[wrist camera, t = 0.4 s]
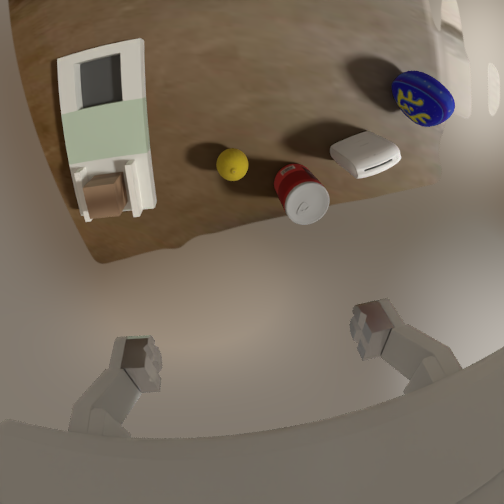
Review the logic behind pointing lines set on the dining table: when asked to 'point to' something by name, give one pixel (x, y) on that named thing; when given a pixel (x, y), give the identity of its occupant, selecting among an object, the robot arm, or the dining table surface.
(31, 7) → the dining table surface
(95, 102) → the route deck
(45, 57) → the dining table surface
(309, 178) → the canned food
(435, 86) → the ornament
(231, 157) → the lemon
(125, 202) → the walnut block
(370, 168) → the white rounded block
